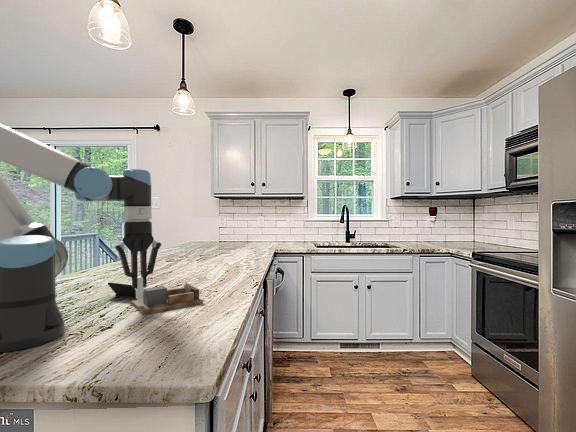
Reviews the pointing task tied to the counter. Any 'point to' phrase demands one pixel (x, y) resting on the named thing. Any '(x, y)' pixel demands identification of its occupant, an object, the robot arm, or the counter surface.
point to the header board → (172, 300)
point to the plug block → (154, 295)
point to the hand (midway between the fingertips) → (139, 298)
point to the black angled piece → (123, 290)
